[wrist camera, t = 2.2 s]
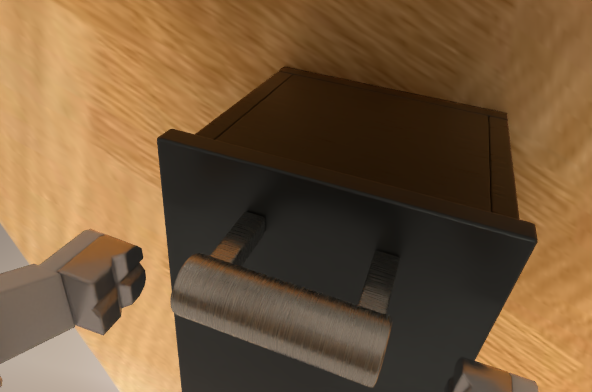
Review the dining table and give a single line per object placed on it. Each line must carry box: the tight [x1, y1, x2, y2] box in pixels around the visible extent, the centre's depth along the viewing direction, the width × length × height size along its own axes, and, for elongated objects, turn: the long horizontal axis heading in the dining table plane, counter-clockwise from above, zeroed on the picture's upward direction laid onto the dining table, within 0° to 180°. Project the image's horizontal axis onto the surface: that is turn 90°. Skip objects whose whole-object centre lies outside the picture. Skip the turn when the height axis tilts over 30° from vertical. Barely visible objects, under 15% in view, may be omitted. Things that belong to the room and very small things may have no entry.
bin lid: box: [157, 129, 537, 392], centre depth 14 cm, size 13×11×5 cm
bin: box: [195, 67, 519, 219], centre depth 20 cm, size 13×11×10 cm
